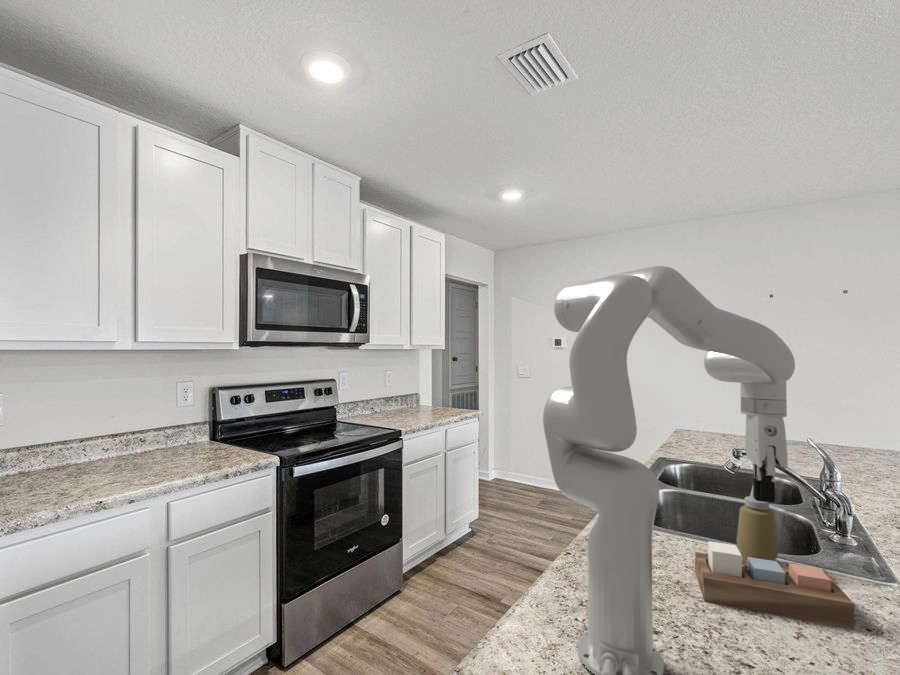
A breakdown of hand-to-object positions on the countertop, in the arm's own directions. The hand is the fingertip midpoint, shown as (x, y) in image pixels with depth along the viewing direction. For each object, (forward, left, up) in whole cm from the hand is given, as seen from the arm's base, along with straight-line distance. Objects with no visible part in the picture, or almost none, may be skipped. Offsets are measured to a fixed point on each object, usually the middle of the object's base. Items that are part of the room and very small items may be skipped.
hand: (763, 500), depth 87 cm
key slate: (0, 0, -18) cm, 18 cm away
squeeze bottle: (+17, -3, -19) cm, 26 cm away
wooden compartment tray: (0, 0, -19) cm, 19 cm away
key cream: (0, +7, -16) cm, 17 cm away
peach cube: (0, -7, -18) cm, 19 cm away
